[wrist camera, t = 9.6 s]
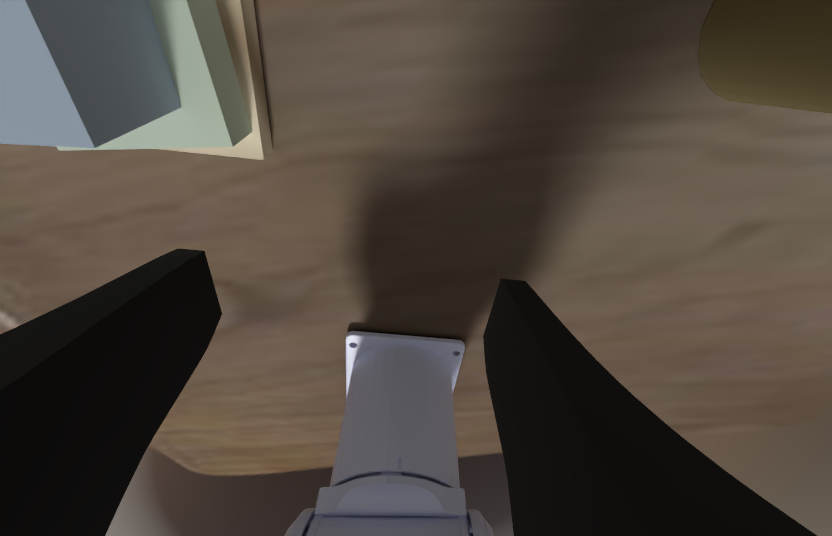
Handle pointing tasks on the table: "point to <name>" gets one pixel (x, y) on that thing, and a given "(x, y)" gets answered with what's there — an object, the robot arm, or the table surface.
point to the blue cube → (80, 71)
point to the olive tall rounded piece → (769, 52)
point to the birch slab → (244, 80)
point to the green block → (192, 83)
